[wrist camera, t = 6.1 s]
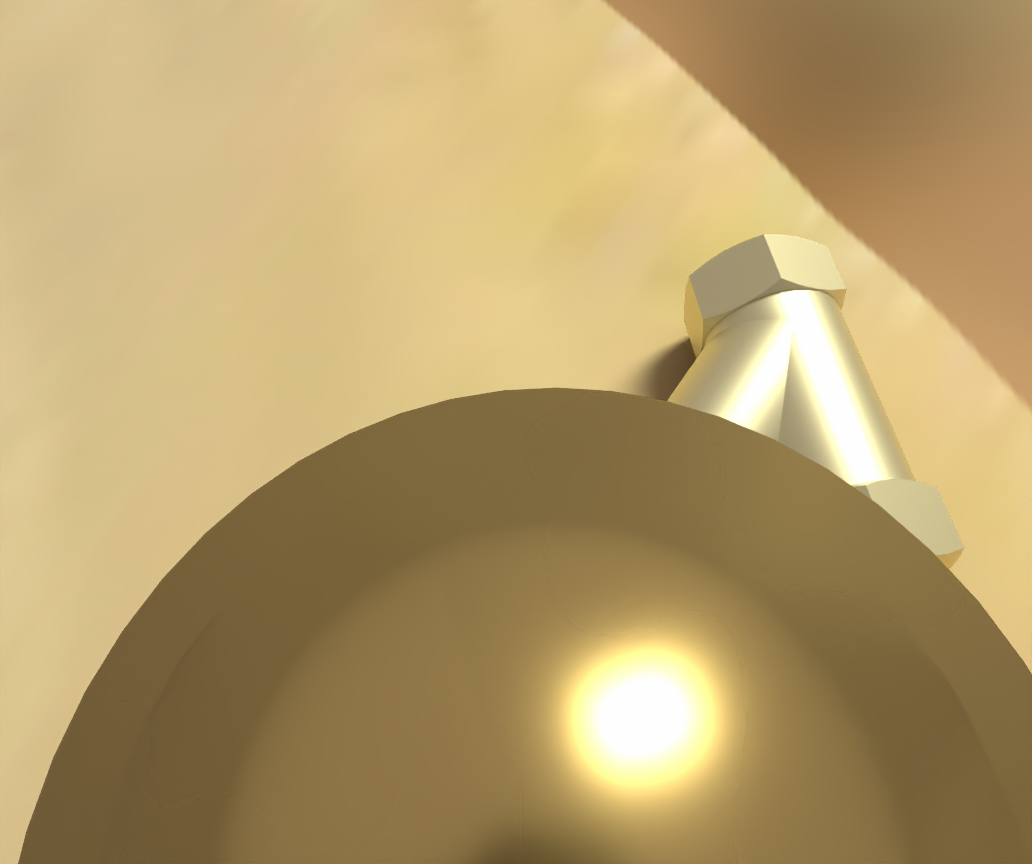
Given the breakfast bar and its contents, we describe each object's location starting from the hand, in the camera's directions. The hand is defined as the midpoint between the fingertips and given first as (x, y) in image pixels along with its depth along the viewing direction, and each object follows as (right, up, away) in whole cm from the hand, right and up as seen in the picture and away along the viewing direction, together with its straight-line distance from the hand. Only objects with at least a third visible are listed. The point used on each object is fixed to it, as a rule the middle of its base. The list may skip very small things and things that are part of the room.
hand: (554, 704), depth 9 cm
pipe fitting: (+5, +2, +10) cm, 12 cm away
